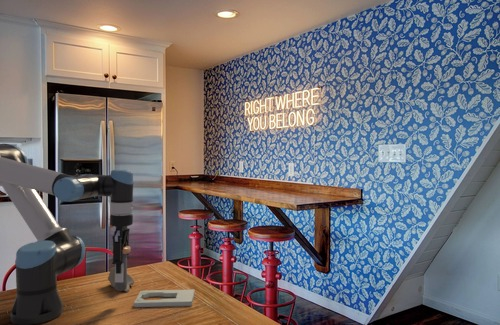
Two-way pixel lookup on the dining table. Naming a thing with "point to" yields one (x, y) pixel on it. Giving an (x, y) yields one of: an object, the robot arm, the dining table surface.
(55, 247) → the robot arm
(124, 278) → the peg
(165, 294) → the keyhole board
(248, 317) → the dining table surface
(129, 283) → the decorative stone
